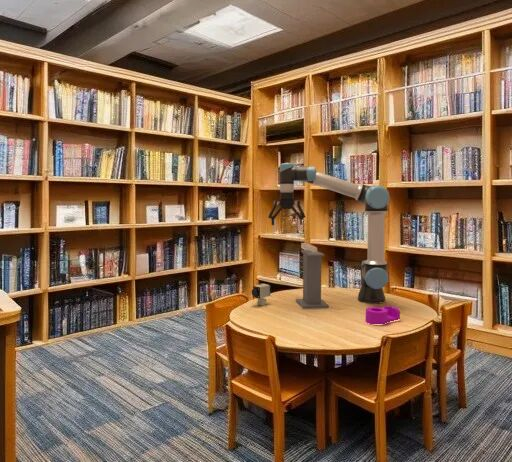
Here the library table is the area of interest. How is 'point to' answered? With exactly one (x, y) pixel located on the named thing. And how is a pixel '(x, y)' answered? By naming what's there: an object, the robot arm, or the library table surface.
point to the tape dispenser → (382, 314)
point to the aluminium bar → (309, 248)
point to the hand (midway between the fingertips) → (286, 231)
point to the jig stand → (312, 281)
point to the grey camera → (261, 293)
